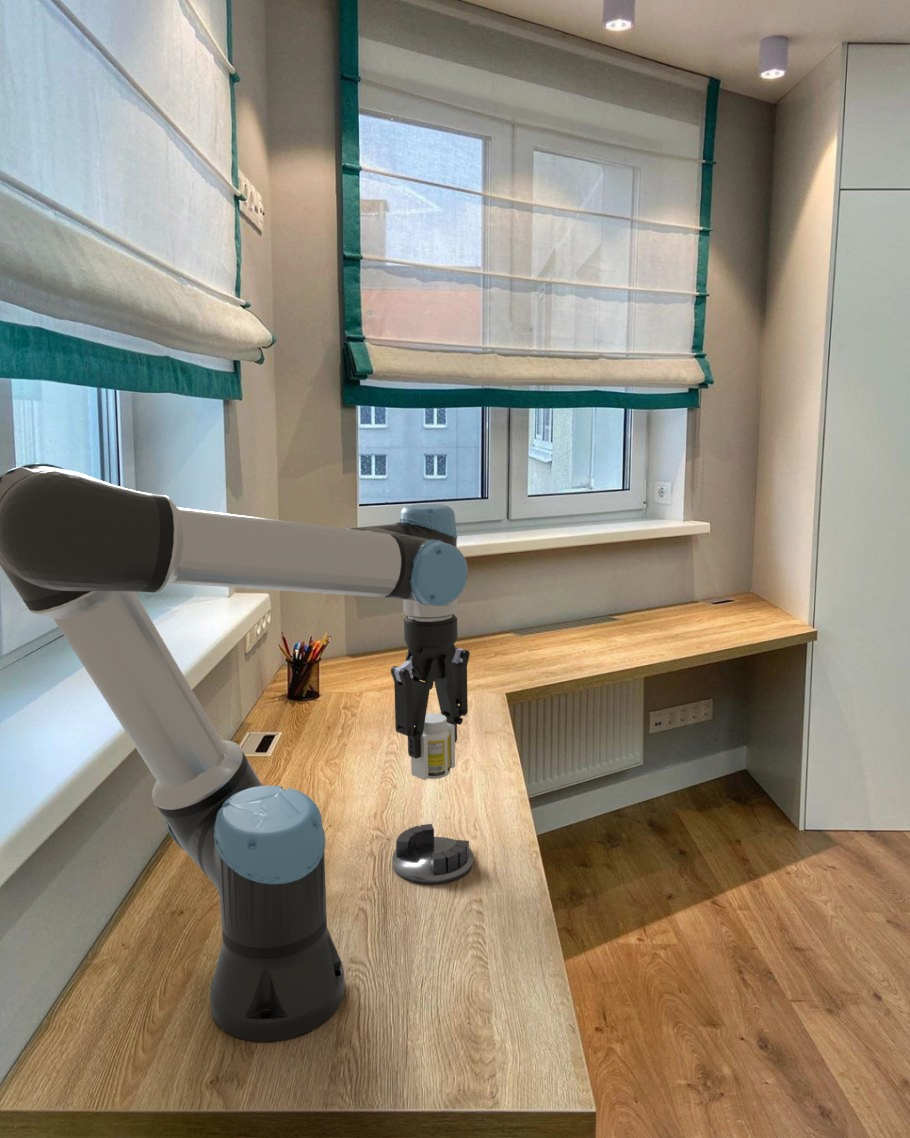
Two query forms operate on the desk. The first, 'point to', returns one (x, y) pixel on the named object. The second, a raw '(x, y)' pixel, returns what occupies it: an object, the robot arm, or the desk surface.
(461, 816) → the desk surface
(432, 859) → the toothed grey disc
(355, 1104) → the desk surface
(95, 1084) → the desk surface
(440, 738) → the supplement bottle
